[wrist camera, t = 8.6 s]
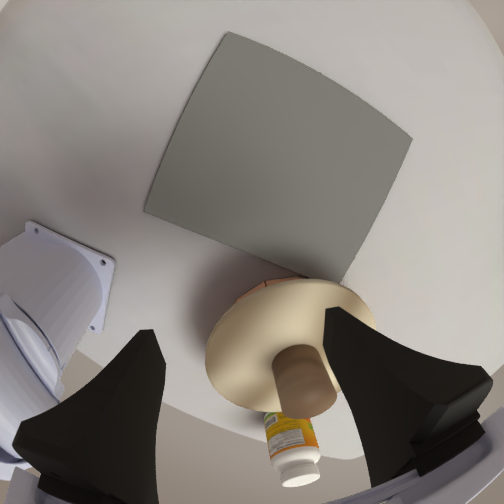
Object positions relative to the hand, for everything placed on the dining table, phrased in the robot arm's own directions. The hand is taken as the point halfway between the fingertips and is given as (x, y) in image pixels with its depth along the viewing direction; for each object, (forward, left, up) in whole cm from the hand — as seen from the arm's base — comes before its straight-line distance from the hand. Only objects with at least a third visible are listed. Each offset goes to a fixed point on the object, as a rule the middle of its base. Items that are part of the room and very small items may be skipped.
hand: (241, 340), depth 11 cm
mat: (+1, +8, -10) cm, 12 cm away
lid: (+7, -4, -6) cm, 10 cm away
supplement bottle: (+14, -17, -10) cm, 24 cm away
